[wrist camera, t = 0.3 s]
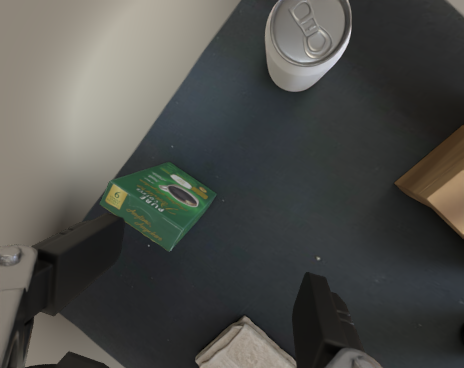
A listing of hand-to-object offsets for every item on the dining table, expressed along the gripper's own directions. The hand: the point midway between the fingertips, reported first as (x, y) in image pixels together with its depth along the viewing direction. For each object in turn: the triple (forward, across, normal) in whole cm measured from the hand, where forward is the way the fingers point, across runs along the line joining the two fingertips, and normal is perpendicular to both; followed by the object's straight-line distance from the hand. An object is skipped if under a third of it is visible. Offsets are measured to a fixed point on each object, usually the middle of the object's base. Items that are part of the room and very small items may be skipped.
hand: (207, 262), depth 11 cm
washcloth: (+24, -9, +29) cm, 39 cm away
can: (+24, -2, -14) cm, 27 cm away
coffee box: (+24, +8, +4) cm, 25 cm away
